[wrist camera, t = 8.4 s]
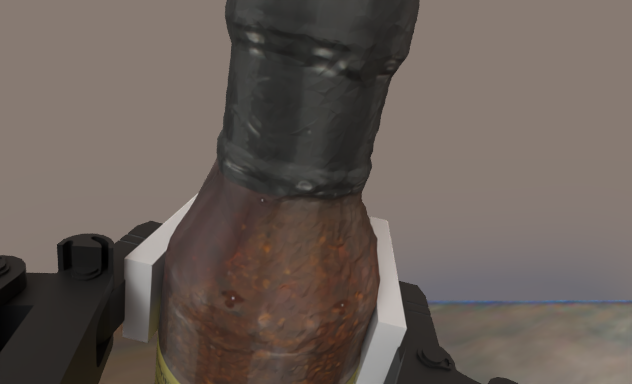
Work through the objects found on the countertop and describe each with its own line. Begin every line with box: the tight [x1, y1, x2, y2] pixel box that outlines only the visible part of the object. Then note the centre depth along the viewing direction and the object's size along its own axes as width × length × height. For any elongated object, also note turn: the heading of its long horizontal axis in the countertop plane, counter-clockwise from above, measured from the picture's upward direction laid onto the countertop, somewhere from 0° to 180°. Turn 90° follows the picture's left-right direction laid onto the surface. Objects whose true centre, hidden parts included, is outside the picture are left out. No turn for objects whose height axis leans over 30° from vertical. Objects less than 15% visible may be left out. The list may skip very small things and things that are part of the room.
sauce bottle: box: [155, 0, 419, 384], centre depth 12 cm, size 7×6×20 cm
